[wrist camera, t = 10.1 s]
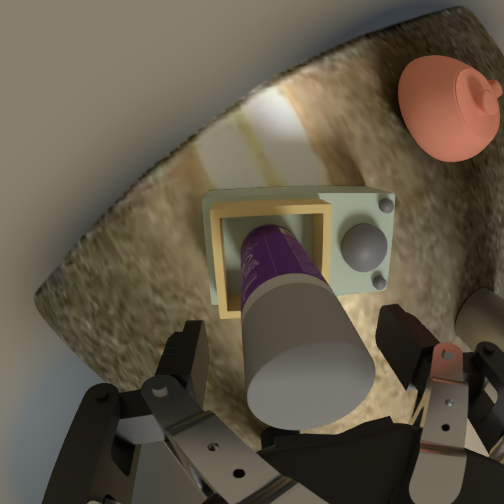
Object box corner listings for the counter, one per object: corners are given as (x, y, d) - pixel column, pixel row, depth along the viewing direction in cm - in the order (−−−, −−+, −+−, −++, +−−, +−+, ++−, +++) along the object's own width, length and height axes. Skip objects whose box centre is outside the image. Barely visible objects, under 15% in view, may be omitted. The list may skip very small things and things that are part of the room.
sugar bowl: (367, 81, 24) (421, 55, 14) (440, 48, 22) (492, 29, 12) (420, 178, 27) (481, 191, 17) (481, 132, 25) (536, 134, 16)
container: (236, 227, 22) (232, 348, 8) (297, 220, 22) (388, 323, 8) (244, 282, 23) (250, 439, 9) (300, 275, 23) (368, 417, 9)
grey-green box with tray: (366, 186, 27) (413, 199, 19) (361, 267, 30) (400, 304, 21) (209, 190, 27) (195, 204, 18) (216, 277, 30) (208, 323, 21)
